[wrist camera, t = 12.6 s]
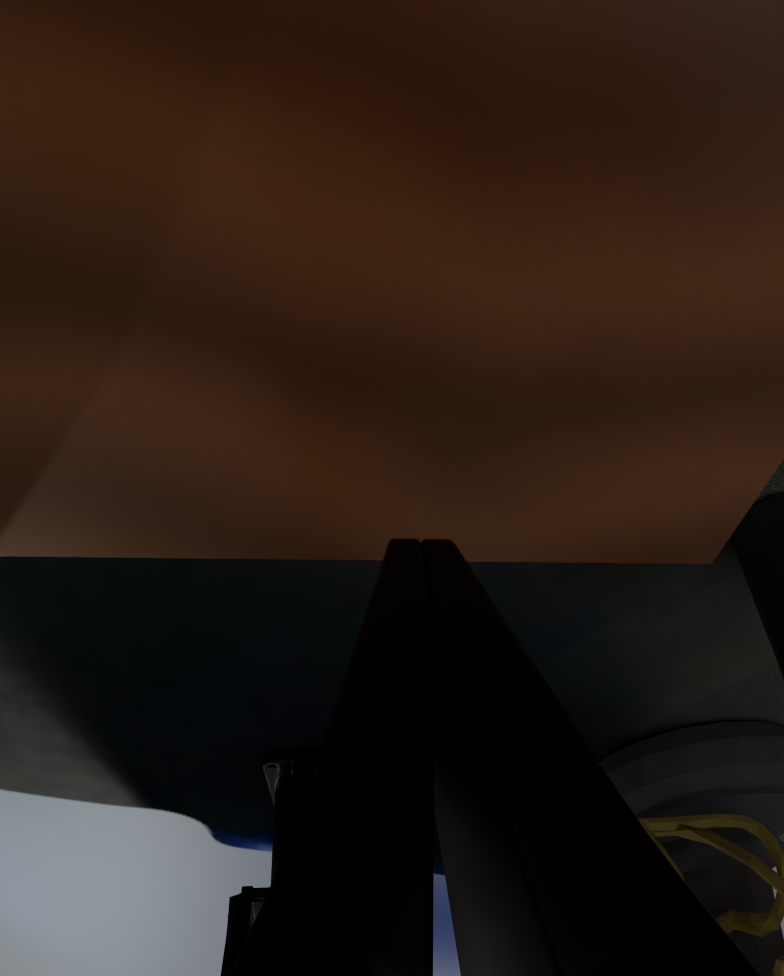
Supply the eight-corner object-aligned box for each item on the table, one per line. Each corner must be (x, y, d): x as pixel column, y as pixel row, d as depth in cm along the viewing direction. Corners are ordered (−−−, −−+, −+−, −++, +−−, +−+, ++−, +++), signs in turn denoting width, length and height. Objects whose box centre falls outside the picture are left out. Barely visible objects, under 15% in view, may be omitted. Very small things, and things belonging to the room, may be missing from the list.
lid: (-311, -147, 8) (-358, -137, 7) (1045, 6, 10) (1088, 24, 9) (-2, 528, 16) (-13, 557, 16) (700, 539, 18) (712, 565, 17)
